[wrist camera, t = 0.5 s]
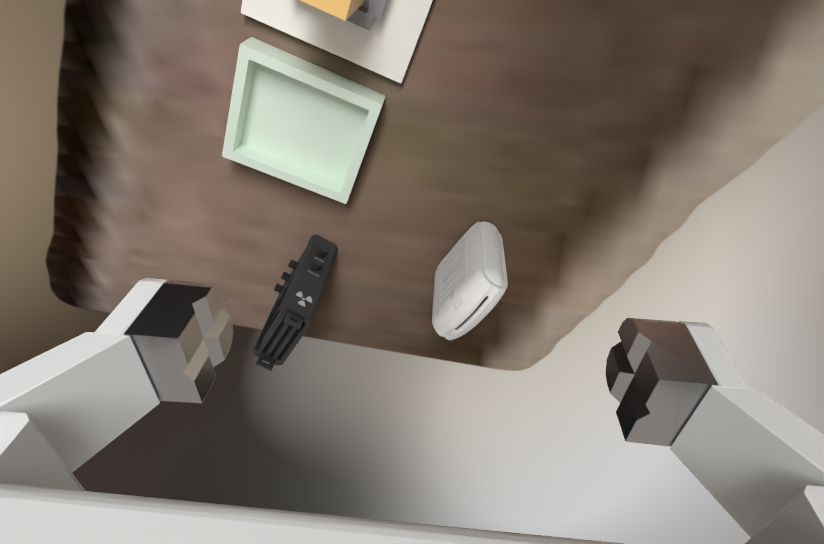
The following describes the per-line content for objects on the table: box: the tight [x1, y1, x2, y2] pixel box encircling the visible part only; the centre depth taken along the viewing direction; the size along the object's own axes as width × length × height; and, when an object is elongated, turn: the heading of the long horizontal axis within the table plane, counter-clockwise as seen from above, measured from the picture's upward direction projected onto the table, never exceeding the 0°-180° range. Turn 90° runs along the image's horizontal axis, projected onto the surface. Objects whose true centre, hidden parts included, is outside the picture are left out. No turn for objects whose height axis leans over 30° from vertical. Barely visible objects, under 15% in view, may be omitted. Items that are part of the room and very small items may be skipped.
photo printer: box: [432, 222, 508, 340], centre depth 54 cm, size 10×4×12 cm, turn 148°
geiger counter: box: [253, 235, 338, 370], centre depth 56 cm, size 10×4×15 cm, turn 148°
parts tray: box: [222, 37, 386, 204], centre depth 49 cm, size 12×14×3 cm
